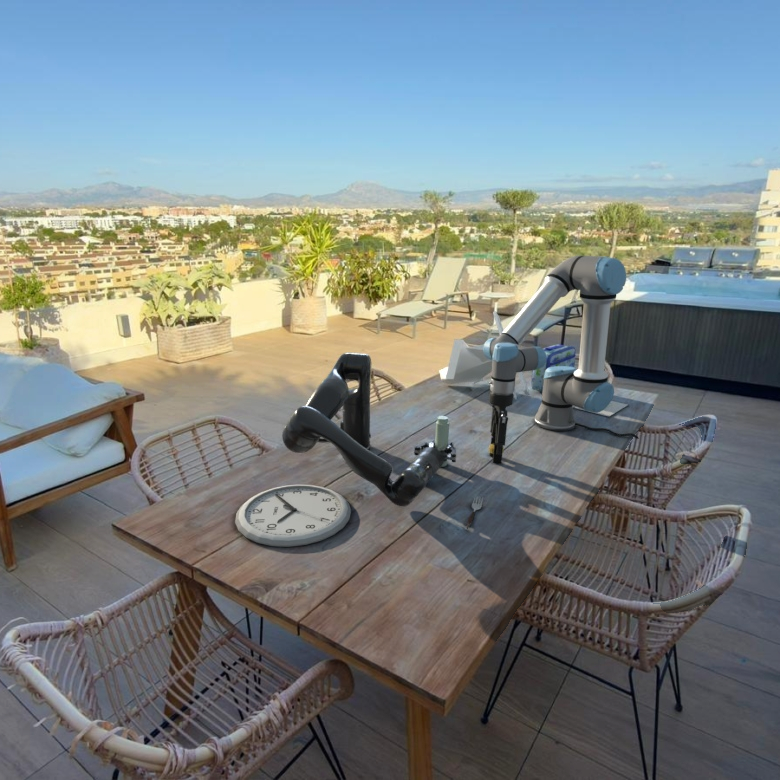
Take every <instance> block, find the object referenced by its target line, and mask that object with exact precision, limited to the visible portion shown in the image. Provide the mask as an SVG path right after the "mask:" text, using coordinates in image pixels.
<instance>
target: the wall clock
mask: <svg viewBox="0 0 780 780" xmlns="http://www.w3.org/2000/svg"><path fill="white" fill-rule="evenodd" d="M351 514H352V509H351V504H350V503H349V501H348V500H347V499H346V498H345V497H344V496H343V495H341V494H340V493H338V492H337V491H335V490H333V489H330V488H327V487H323V486H318V485H313V484H290V485H289V484H288V485H282V486H277V487H272V488H269V489H267V490H264V491H261V492H259V493H257V494H255V495H254V496H252V497H250V498H248V499H247V500H246V501H245V502H244V503H243V504H242V505H240V507H239V509H238V510H237V511H236V514H235V520H234V524H235V526H236V529H237V531H238V532H239V533H240V534H241V535H242V536H243V537H245V538H246V539H248V540H250V541H252V542H254V543H257V544H261V545H266V546H270V547H283V548H284V547H285V548H286V547H287V548H289V547H298V546H306V545H311V544H313V543H319V542H322V541H324V540H327V539H328V538H330V537H332V536H334V535H336V534H337V533H339V532H340V531H341V530H343V529H345V526H346V525H347V524H348V522H350V518H351Z"/></svg>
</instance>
